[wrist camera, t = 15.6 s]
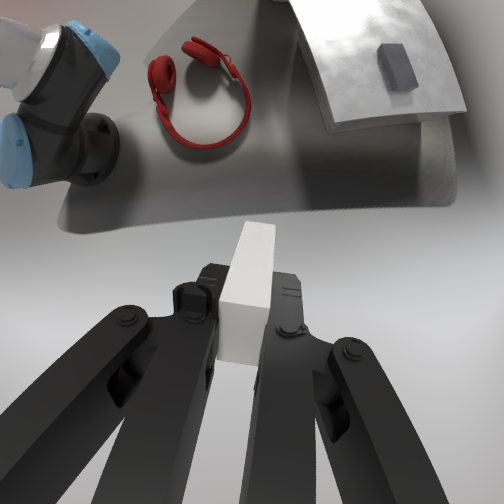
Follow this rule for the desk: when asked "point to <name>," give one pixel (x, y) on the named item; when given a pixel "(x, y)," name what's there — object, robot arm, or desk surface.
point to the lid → (378, 58)
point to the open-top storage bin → (357, 124)
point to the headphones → (165, 77)
